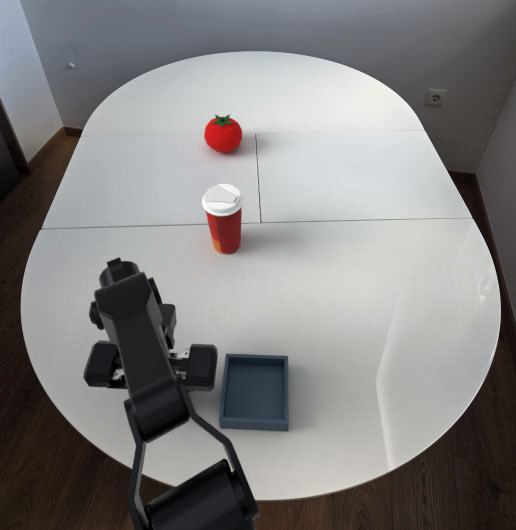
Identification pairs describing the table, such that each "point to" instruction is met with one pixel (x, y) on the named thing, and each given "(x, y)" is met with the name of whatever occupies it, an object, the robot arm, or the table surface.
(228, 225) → the coffee cup
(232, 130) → the tomato
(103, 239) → the table surface
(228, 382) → the crate
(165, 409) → the robot arm
